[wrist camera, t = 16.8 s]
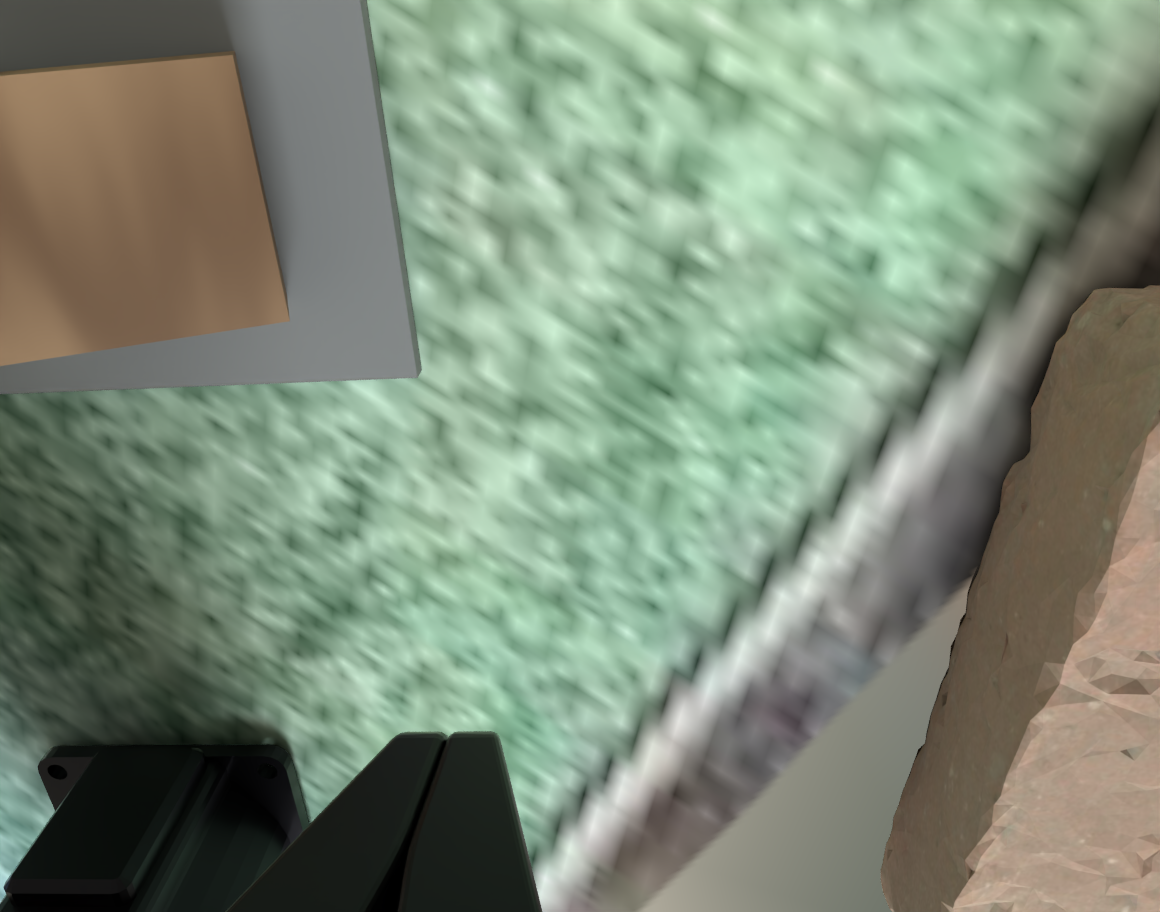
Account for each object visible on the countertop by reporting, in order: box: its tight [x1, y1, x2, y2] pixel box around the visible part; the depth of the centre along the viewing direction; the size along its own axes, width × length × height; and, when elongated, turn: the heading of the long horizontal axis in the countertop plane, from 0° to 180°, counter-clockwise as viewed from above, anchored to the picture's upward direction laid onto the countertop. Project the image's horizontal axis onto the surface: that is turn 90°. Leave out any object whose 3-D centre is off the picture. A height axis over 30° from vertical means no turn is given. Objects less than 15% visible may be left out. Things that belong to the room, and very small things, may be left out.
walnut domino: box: [0, 51, 290, 366], centre depth 16 cm, size 4×2×7 cm
